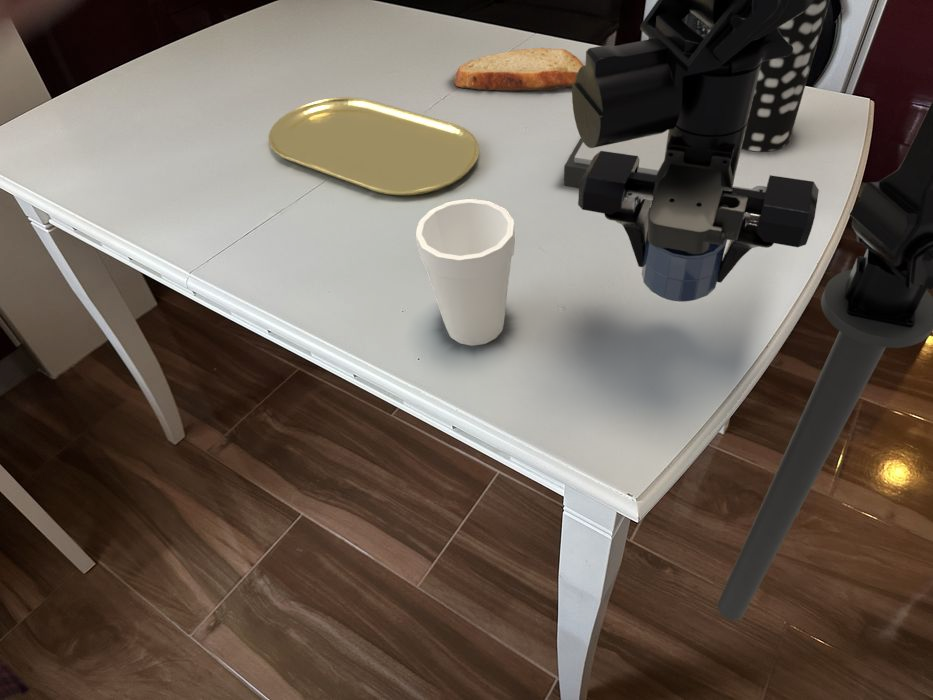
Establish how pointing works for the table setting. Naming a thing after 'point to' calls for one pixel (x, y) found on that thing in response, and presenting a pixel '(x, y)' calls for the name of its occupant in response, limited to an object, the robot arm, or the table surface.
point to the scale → (644, 148)
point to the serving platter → (375, 145)
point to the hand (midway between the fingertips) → (679, 271)
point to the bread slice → (520, 70)
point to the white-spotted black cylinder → (784, 82)
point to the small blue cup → (681, 271)
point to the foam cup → (468, 266)
